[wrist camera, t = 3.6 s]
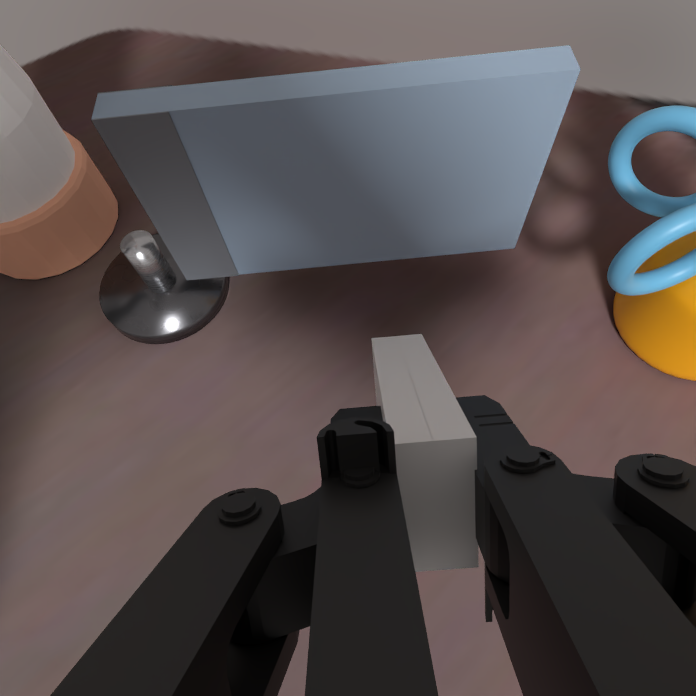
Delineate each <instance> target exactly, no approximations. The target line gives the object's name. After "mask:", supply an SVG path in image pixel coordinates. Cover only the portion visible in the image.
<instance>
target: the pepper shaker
mask: <svg viewBox="0 0 696 696" xmlns="http://www.w3.org/2000/svg"><path fill="white" fill-rule="evenodd" d="M117 219H118V202H117V200H116V198H115V196H114V194H113V192H112V190H111V189H110V187H109V186H108V184H107V183H106V181H105V180H104V178H103V176H102V175H101V173H100V172H99V170H98V169H97V167H96V166H95V164H94V163H93V161H92V160H91V158H90V156H89V155H88V153H87V152H86V150H85V149H84V147H83V146H82V144H81V143H80V141H78V140H77V139H76V138H74V137H73V136H71V135H70V134H69V133H67V132H66V131H64V130H62V128H61V127H60V125H59V124H58V122H57V121H56V119H55V117H54V116H53V114H52V113H51V111H50V109H49V108H48V106H47V105H46V103H45V101H44V100H43V98H42V97H41V95H40V94H39V92H38V90H37V89H36V87H35V86H34V84H33V82H32V81H31V79H30V78H29V76H28V75H27V74H26V72H25V71H24V70H23V69H22V68H21V67H20V66H19V65H18V63H17V62H16V61H15V60H14V59H13V58H12V57H11V56H10V54H9V53H8V52H7V51H6V50H5V49H4V48H3V46H2V45H1V44H0V273H2V274H5V275H8V276H10V277H13V278H16V279H41V278H46V277H50V276H55V275H59V274H62V273H64V272H66V271H68V270H70V269H72V268H74V267H76V266H79V265H81V264H82V263H83V262H85V261H86V260H87V259H89V258H90V257H91V256H92V255H94V254H95V253H96V252H98V251H99V250H100V249H101V247H102V246H103V245H104V243H105V242H106V241H107V240H108V238H109V237H110V236H111V234H112V232H113V230H114V227H115V224H116V222H117Z"/></svg>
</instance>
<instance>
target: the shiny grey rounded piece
mask: <svg viewBox="0 0 696 696" xmlns="http://www.w3.org/2000/svg"><path fill="white" fill-rule="evenodd" d="M120 249H121V251H122V252H121V253H120V254H119V255H118V256H117V257H116V258H115V259H114V260H113V261H112V263H111V264H110V265H109V267H108V268H107V270H106V272H105V274H104V276H103V279H102V281H101V285H100V292H99V297H100V304H101V308H102V310H103V312H104V314H105V316H106V317H107V319H108V320H109V321H110V322H111V323H112V324H113V325H114V326H115V327H116V328H117V329H118V330H119V331H120V332H121V333H122V334H124V335H125V336H127V337H128V338H130V339H132V340H135V341H138V342H142V343H148V344H164V343H171V342H174V341H178V340H181V339H184V338H186V337H188V336H190V335H192V334H194V333H196V332H197V331H199V330H201V329H202V328H203V327H205V326H206V325H207V324H208V323H209V322H210V321H211V320H212V319H213V318H214V317H215V316H216V315H217V313H218V312H219V311H220V309H221V307H222V306H223V304H224V301H225V299H226V296H227V293H228V286H229V278H228V277H218V278H207V279H197V280H186V278H185V276H184V275H183V273H182V271H181V270H180V268H179V266H178V265H177V263H176V261H175V260H174V258H173V256H172V255H171V253H170V251H169V250H168V248H167V246H166V245H165V243H164V241H163V240H162V238H161V236H160V235H159V234H155V235H151V234H150V233H149V232H147V231H144V230H136V231H133V232H130V233H129V234H127V235H126V236H125V237H124V238H123V239H122V241H121V244H120Z"/></svg>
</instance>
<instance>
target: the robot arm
mask: <svg viewBox="0 0 696 696" xmlns="http://www.w3.org/2000/svg"><path fill="white" fill-rule="evenodd" d="M371 340H372V353H373V365H374V378H375V391H376V404H377V406H370V407H359V408H347V409H340V410H339V411H338V412H337V413H336V414H335V415H334V416H333V417H332V418H331V424H329V425H327V426H326V427H324V428H323V429H322V430H320V432H319V434H318V436H317V443H318V452H319V460H320V468H321V477H322V484H321V487H320V488H319V489H318V490H316V491H315V492H314V493H312V494H310V495H309V496H307V497H305V498H302V499H299V500H297V501H294V502H290V503H287V504H283V505H281V504H280V502H279V499H278V497H277V496H276V495H275V494H273V493H272V492H270V491H269V490H264V489H259V488H247V489H245V488H243V489H237V490H233V491H230V492H228V493H226V494H224V495H222V496H220V497H218V498H216V499H214V500H212V501H211V502H210V503H209V504H208V505H207V506H206V507H205V508H203V510H202V511H201V512H200V513H199V515H198V516H197V517H196V518H195V519H194V521H193V522H192V523H191V524H190V526H189V527H188V528H187V529H186V530H185V532H184V533H183V534H182V535H181V537H180V538H179V539H178V540H177V541H176V543H175V544H174V545H173V546H172V548H171V549H170V550H169V551H168V552H167V554H166V555H165V556H164V557H163V559H162V560H161V561H160V562H159V563H158V565H157V566H156V567H155V568H154V570H153V571H152V572H151V573H150V574H149V576H148V577H147V578H146V579H145V580H144V582H143V583H142V584H141V585H140V587H139V588H138V589H137V590H136V591H135V593H134V594H133V595H132V596H131V598H130V599H129V600H128V601H127V602H126V604H125V605H124V606H123V607H122V609H121V610H120V611H119V612H118V613H117V615H116V616H115V617H114V618H113V620H112V621H111V622H110V623H109V624H108V626H107V627H106V628H105V629H104V631H103V632H102V633H101V634H100V635H99V637H98V638H97V639H96V640H95V642H94V643H93V644H92V645H91V646H90V648H89V649H88V650H87V651H86V653H85V654H84V655H83V656H82V657H81V659H80V660H79V661H78V662H77V664H76V665H75V666H74V667H73V668H72V670H71V671H70V672H69V673H68V675H67V676H66V677H65V678H64V679H63V681H62V682H61V683H60V684H59V686H58V687H57V688H56V689H55V690H54V692H53V693H52V694H51V695H50V696H277V695H278V692H279V690H280V687H281V685H282V682H283V679H284V677H285V674H286V671H287V669H288V666H289V663H290V661H291V658H292V655H293V653H294V650H295V647H296V645H297V642H298V636H299V630H300V629H303V628H306V627H309V626H310V637H309V650H308V663H307V676H306V688H305V696H438V692H437V686H436V681H435V676H434V670H433V665H432V660H431V654H430V649H429V643H428V638H427V633H426V627H425V622H424V617H423V611H422V606H421V601H420V595H419V590H418V584H417V579H416V574H415V572H421V571H434V570H447V569H460V568H473V567H478V545H479V547H480V550H481V553H482V555H483V558H484V561H485V616H486V622H492V610H494V613H495V616H496V619H497V622H498V624H499V627H500V630H501V633H502V636H503V639H504V642H505V645H506V647H507V650H508V653H509V656H510V659H511V662H512V665H513V667H514V670H515V673H516V676H517V679H518V682H519V685H520V687H521V690H522V693H523V696H696V466H693V465H691V464H689V463H686V462H684V461H682V460H679V459H675V458H671V457H668V456H666V455H660V454H655V455H653V454H640V455H631V456H628V457H626V458H623V459H621V460H619V462H618V463H617V465H616V466H615V475H614V479H612V478H602V477H592V476H584V475H577V474H572V473H571V472H570V471H569V469H568V468H567V467H566V466H565V464H564V463H563V462H562V460H561V459H559V458H558V457H557V456H556V455H555V454H553V453H552V452H549V451H547V450H545V449H542V448H540V447H535V446H530V445H529V443H528V442H527V441H526V439H525V438H524V436H523V435H522V434H521V432H520V431H519V430H518V428H517V427H516V425H515V424H513V421H512V420H511V419H510V417H509V416H508V415H507V413H506V412H505V410H504V409H503V408H502V406H501V405H500V403H498V402H496V401H494V400H492V399H490V398H489V397H487V396H485V395H483V396H471V397H459V398H455V396H454V394H453V392H452V390H451V388H450V386H449V385H448V383H447V381H446V379H445V377H444V375H443V373H442V371H441V370H440V368H439V366H438V364H437V362H436V360H435V358H434V356H433V355H432V353H431V351H430V349H429V347H428V345H427V343H426V341H425V339H424V338H423V336H422V334H414V335H402V336H391V337H379V338H371Z"/></svg>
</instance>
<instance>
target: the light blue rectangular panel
mask: <svg viewBox="0 0 696 696" xmlns="http://www.w3.org/2000/svg"><path fill="white" fill-rule="evenodd" d="M579 72H580V67H579V65H578V62H577V60H576V58H575V56H574V54H573V51H572V49H571V47H570V45H567V46H557V47H548V48H539V49H528V50H518V51H509V52H499V53H490V54H480V55H470V56H460V57H452V58H441V59H431V60H422V61H412V62H402V63H392V64H383V65H373V66H363V67H354V68H344V69H334V70H325V71H315V72H305V73H295V74H286V75H276V76H266V77H257V78H247V79H237V80H228V81H218V82H208V83H198V84H189V85H179V86H172V85H169V86H160V87H150V88H140V89H131V90H121V91H111V92H102V93H98V95H97V99H96V103H95V107H94V111H93V115H92V119H91V121H92V122H93V124H94V126H95V127H96V129H97V131H98V132H99V134H100V136H101V137H102V139H103V141H104V142H105V144H106V146H107V147H108V149H109V151H110V152H111V154H112V156H113V157H114V159H115V161H116V162H117V164H118V166H119V168H120V169H121V171H122V173H123V174H124V176H125V178H126V179H127V181H128V183H129V184H130V186H131V188H132V189H133V191H134V193H135V194H136V196H137V198H138V199H139V201H140V203H141V204H142V206H143V208H144V209H145V211H146V213H147V214H148V216H149V218H150V219H151V221H152V223H153V224H154V226H155V228H156V230H157V231H158V233H159V235H160V236H161V238H162V240H163V241H164V243H165V245H166V246H167V248H168V250H169V251H170V253H171V255H172V256H173V258H174V260H175V261H176V263H177V265H178V266H179V268H180V270H181V271H182V273H183V275H184V276H185V278H186V280H197V279H207V278H218V277H228V276H239V275H240V274H251V273H261V272H272V271H282V270H293V269H303V268H314V267H324V266H335V265H345V264H356V263H366V262H377V261H387V260H398V259H408V258H419V257H430V256H440V255H451V254H461V253H472V252H482V251H493V250H503V249H514V248H515V246H516V243H517V240H518V238H519V235H520V232H521V229H522V227H523V224H524V221H525V219H526V216H527V213H528V210H529V208H530V205H531V202H532V200H533V197H534V194H535V192H536V189H537V186H538V183H539V181H540V178H541V175H542V173H543V170H544V167H545V164H546V162H547V159H548V156H549V154H550V151H551V148H552V145H553V143H554V140H555V137H556V135H557V132H558V129H559V126H560V124H561V121H562V118H563V116H564V113H565V110H566V107H567V105H568V102H569V99H570V97H571V94H572V91H573V89H574V86H575V83H576V80H577V78H578V75H579Z"/></svg>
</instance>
